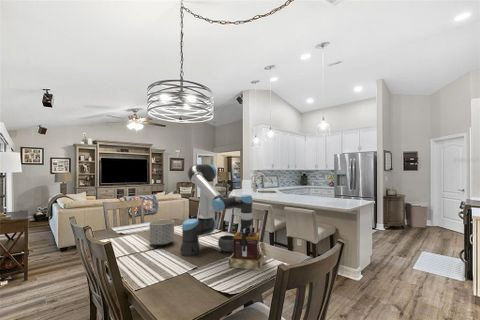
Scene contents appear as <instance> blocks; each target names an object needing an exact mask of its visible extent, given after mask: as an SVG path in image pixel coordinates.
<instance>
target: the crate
mask: <svg viewBox="0 0 480 320" xmlns="http://www.w3.org/2000/svg"><path fill="white" fill-rule="evenodd" d="M233 256H234V252H233V253H232V254H231V255H230V256H229V257H228V268H236V269H237V268H238V269H244V268H245V269H244V270H253V269H254V271H261V269H262V266H263V264H264V262H265V253H264V252H259V258H258V261H252V260H242V259H233Z"/></svg>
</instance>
